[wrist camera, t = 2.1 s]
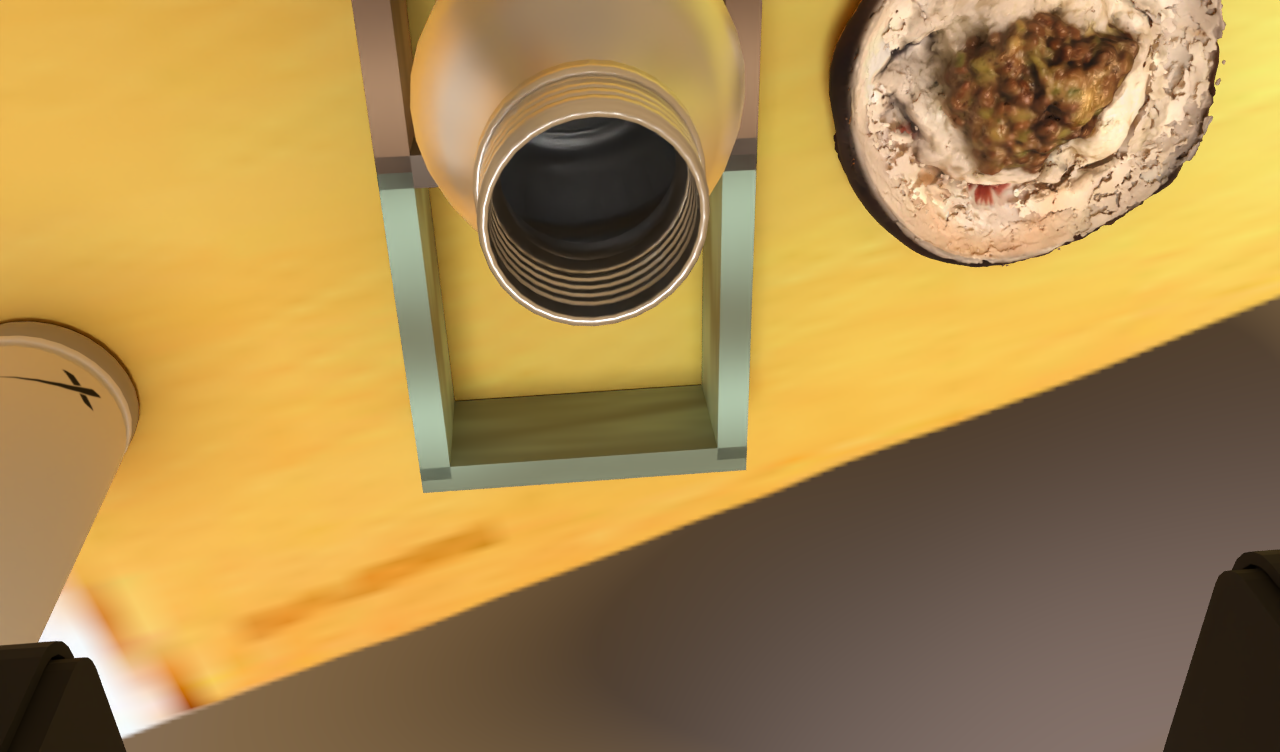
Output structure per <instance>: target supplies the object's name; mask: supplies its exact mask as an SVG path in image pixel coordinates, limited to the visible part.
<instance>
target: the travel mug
mask: <svg viewBox="0 0 1280 752" xmlns="http://www.w3.org/2000/svg"><path fill="white" fill-rule="evenodd" d="M138 419H139V403H138V399H137V395H136V391H135V388H134V386H133V384H132V382H131V380H130V378H129V376H128V374H127V373H126V372H125V370H124V369H123V368H122V367H121V365H120V364H119V363H118V361H117V360H116V359H115V358H114V357H113V356H112V355H110V354H109V353H108V352H107V351H106V350H105V349H104V348H103V347H101V346H100V345H98V344H97V343H95V342H94V341H92V340H91V339H89V338H87V337H85V336H83V335H81V334H79V333H77V332H74V331H72V330H70V329H67V328H63V327H60V326H56V325H53V324H47V323H39V322H31V321H27V322H9V323H4V324H0V645H12V644H25V643H38V641H39V639H40V637H41V635H42V633H43V630H44V628H45V626H46V624H47V622H48V620H49V617H50V615H51V613H52V611H53V609H54V607H55V604H56V602H57V600H58V598H59V596H60V594H61V591H62V589H63V587H64V585H65V583H66V581H67V578H68V576H69V574H70V572H71V570H72V568H73V565H74V563H75V561H76V559H77V557H78V555H79V552H80V550H81V548H82V546H83V544H84V542H85V539H86V537H87V535H88V533H89V531H90V529H91V526H92V524H93V522H94V520H95V518H96V516H97V513H98V511H99V509H100V507H101V505H102V503H103V500H104V498H105V496H106V494H107V492H108V490H109V487H110V485H111V483H112V481H113V479H114V477H115V474H116V472H117V470H118V468H119V466H120V464H121V461H122V459H123V456H124V454H125V452H126V451H127V448H128V446H129V444H130V442H131V440H132V438H133V435H134V433H135V431H136V427H137V423H138Z"/></svg>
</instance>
